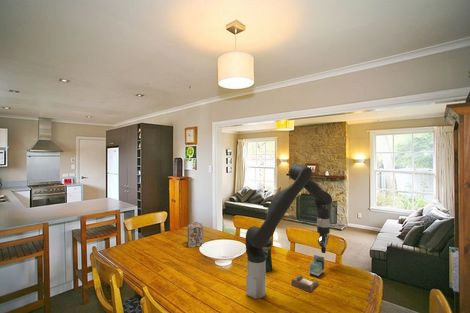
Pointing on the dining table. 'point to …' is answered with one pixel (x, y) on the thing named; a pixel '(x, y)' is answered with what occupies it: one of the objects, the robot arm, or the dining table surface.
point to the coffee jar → (268, 255)
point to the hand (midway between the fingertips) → (323, 252)
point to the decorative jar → (195, 234)
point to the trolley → (317, 266)
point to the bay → (304, 283)
